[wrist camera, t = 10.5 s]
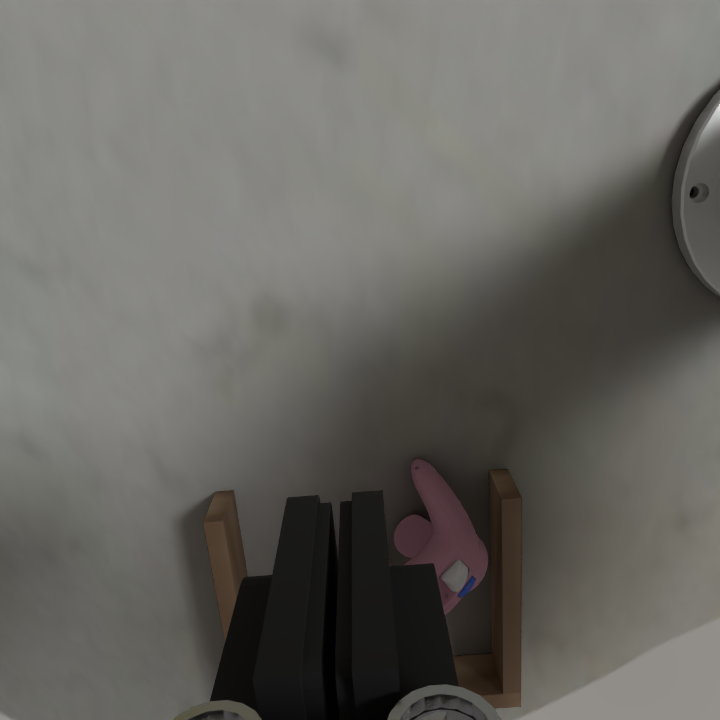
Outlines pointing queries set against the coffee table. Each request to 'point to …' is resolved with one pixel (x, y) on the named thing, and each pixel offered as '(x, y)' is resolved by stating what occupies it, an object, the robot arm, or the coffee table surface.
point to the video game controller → (442, 537)
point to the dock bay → (503, 666)
